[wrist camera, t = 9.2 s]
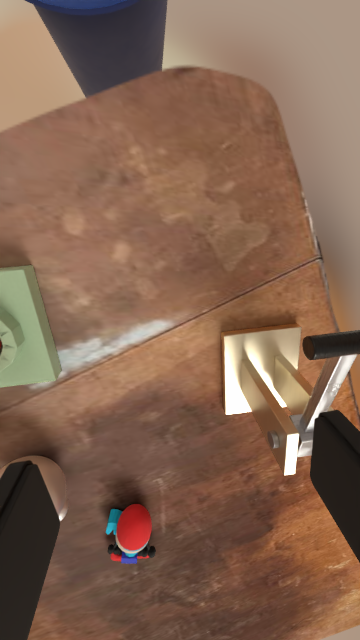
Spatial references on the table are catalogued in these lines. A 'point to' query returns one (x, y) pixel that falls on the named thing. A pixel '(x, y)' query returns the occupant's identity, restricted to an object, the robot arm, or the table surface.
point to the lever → (325, 379)
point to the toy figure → (130, 534)
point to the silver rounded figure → (50, 481)
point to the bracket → (267, 384)
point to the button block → (24, 331)
